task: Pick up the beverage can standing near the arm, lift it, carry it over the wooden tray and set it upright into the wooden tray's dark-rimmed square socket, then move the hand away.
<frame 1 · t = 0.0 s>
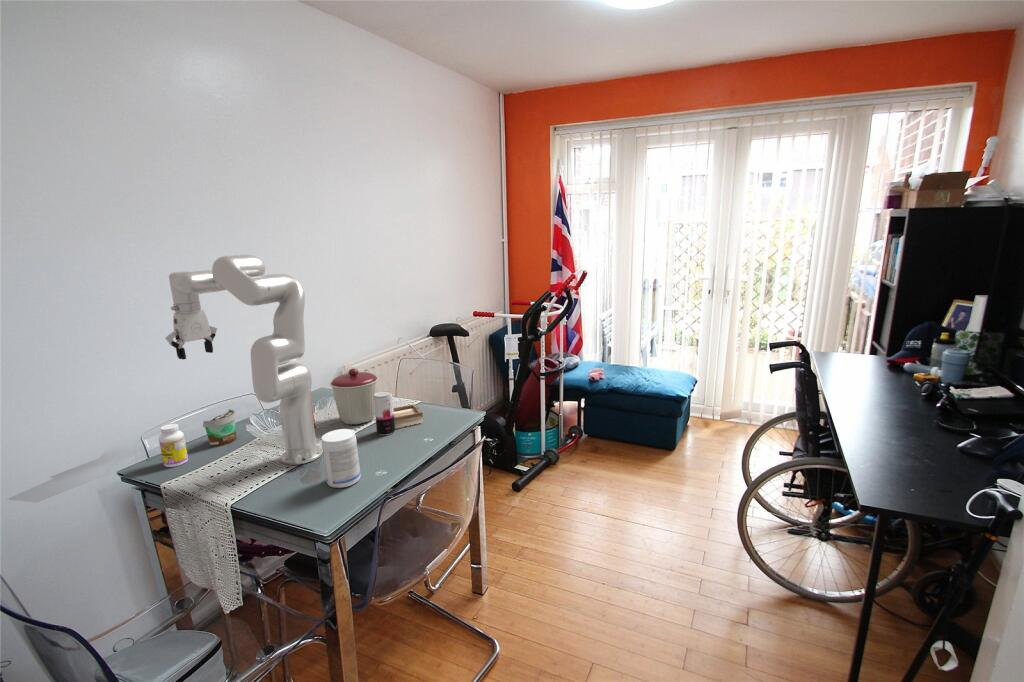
hand: (196, 355, 167), 31 cm above the table, tool pointing down, fingers open, 9 cm apart
supplement tub: (344, 481, 140), on the table
beverage can: (386, 432, 175), on the table
food container: (228, 442, 170), on the table
supplement bottle: (176, 463, 154), on the table
wooden tray: (405, 421, 185), on the table
canister: (358, 420, 187), on the table
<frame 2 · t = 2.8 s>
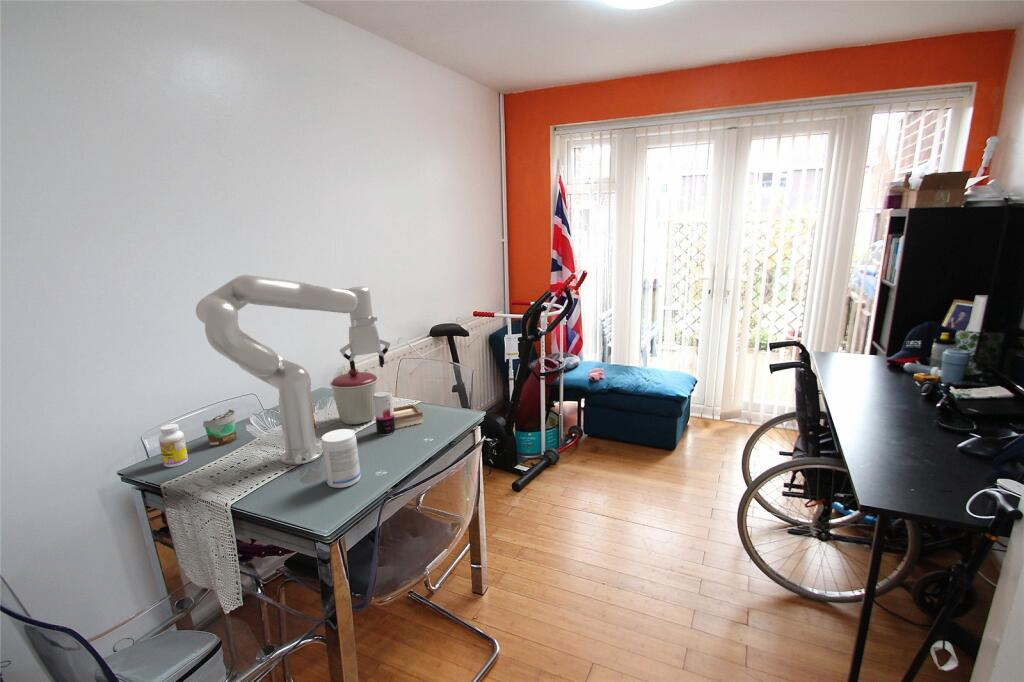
hand: (367, 368, 170), 24 cm above the table, tool pointing down, fingers open, 9 cm apart
nothing on the table moved.
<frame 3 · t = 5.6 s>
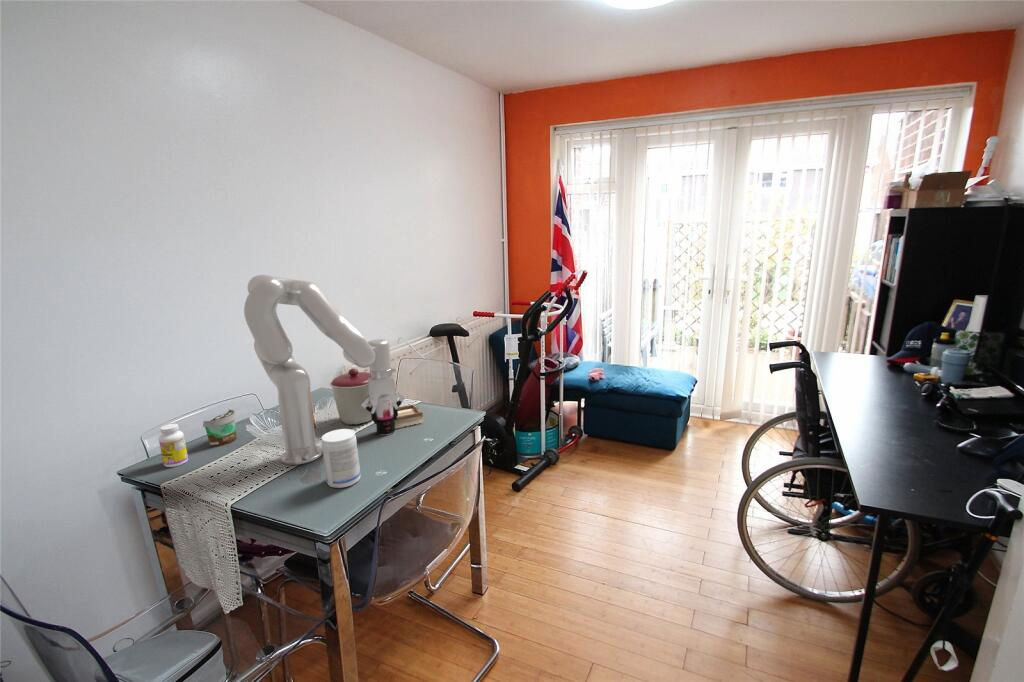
hand: (385, 420, 173), 5 cm above the table, tool pointing down, fingers closed on beverage can, 6 cm apart
beverage can: (386, 432, 175), on the table, touching gripper
everything else where it was.
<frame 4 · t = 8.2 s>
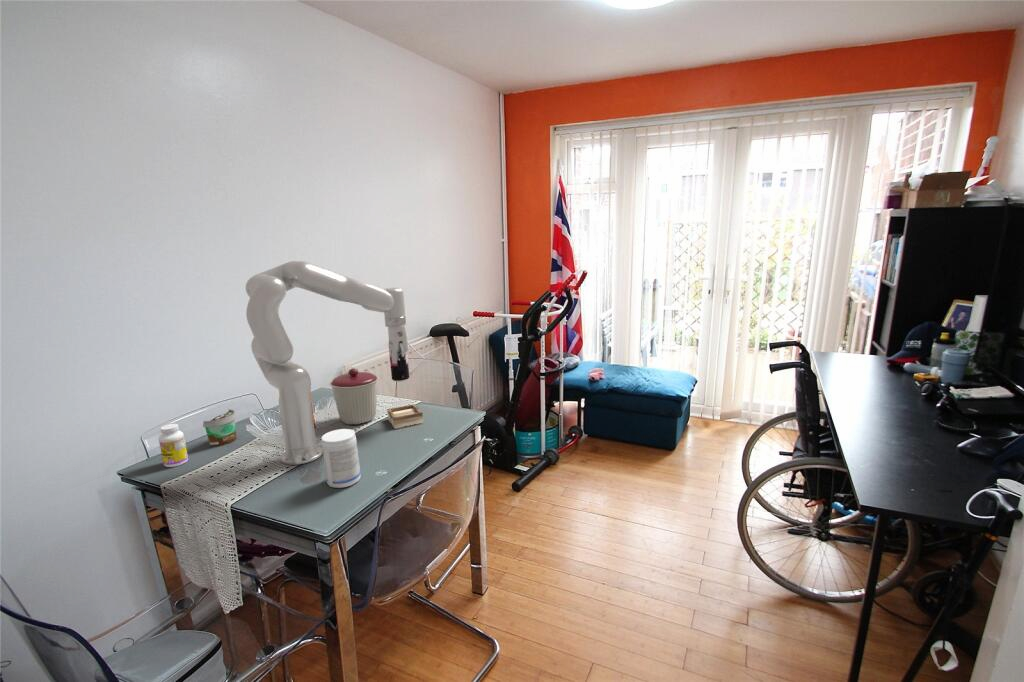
hand: (399, 367, 179), 22 cm above the table, tool pointing down, fingers closed on beverage can, 6 cm apart
beverage can: (400, 379, 180), point 17 cm above the table, touching gripper
everything else where it was.
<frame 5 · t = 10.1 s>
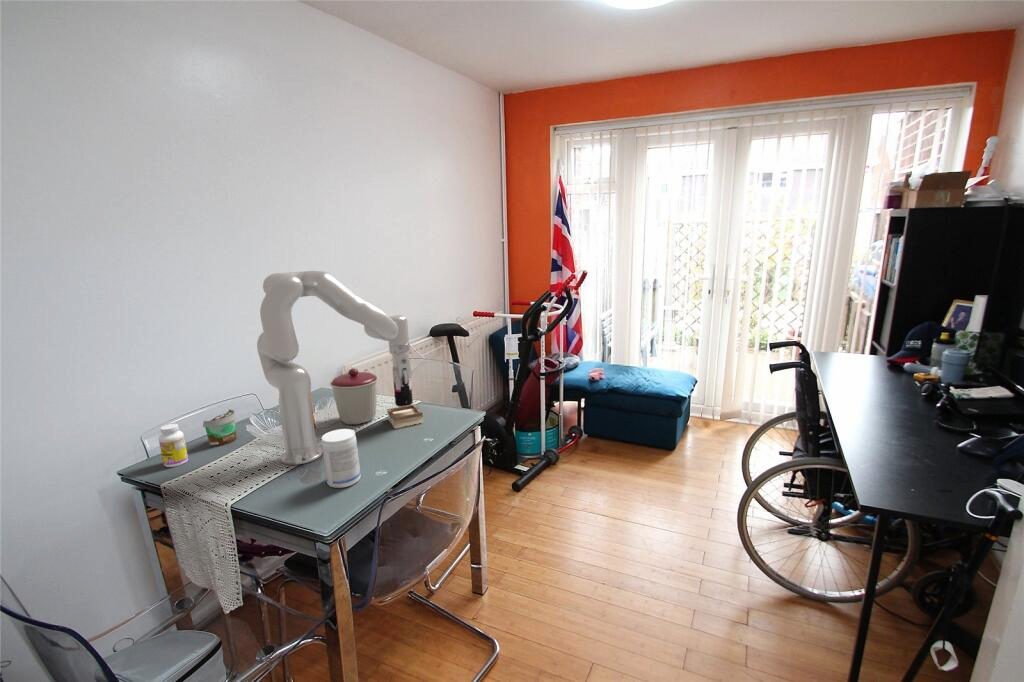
hand: (403, 392, 182), 12 cm above the table, tool pointing down, fingers closed on beverage can, 6 cm apart
beverage can: (404, 404, 183), point 7 cm above the table, touching gripper
everything else where it was.
when the fingers open (9 cm above the table, at t = 11.1 s): beverage can drops 2 cm, resting on wooden tray.
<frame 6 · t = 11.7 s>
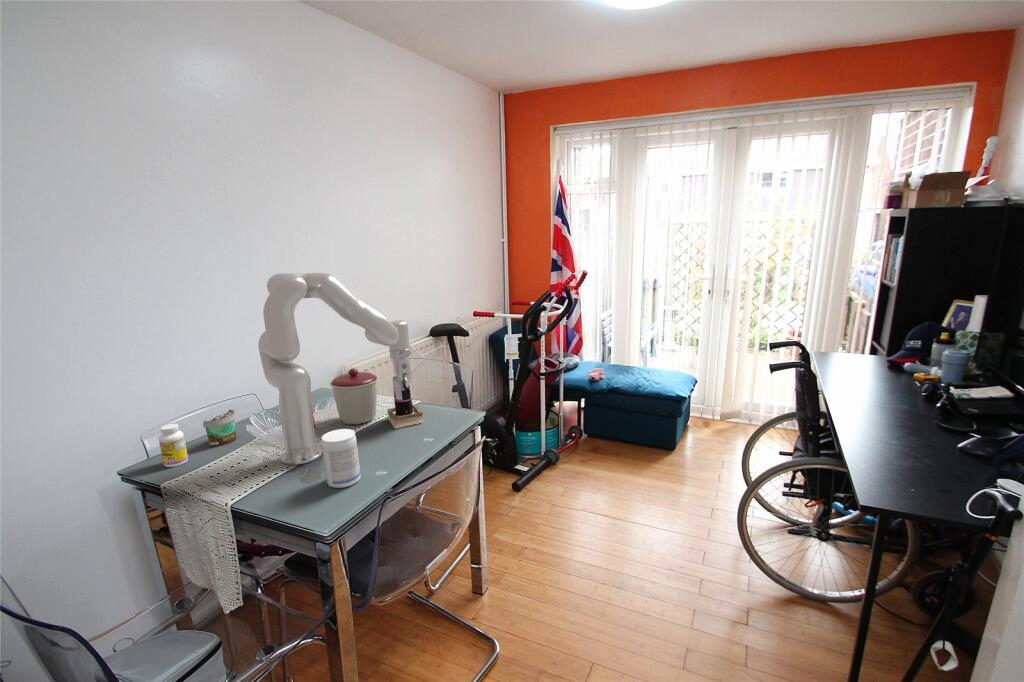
hand: (403, 396, 182), 10 cm above the table, tool pointing down, fingers open, 9 cm apart
beverage can: (404, 414, 184), point 3 cm above the table, touching wooden tray
everything else where it was.
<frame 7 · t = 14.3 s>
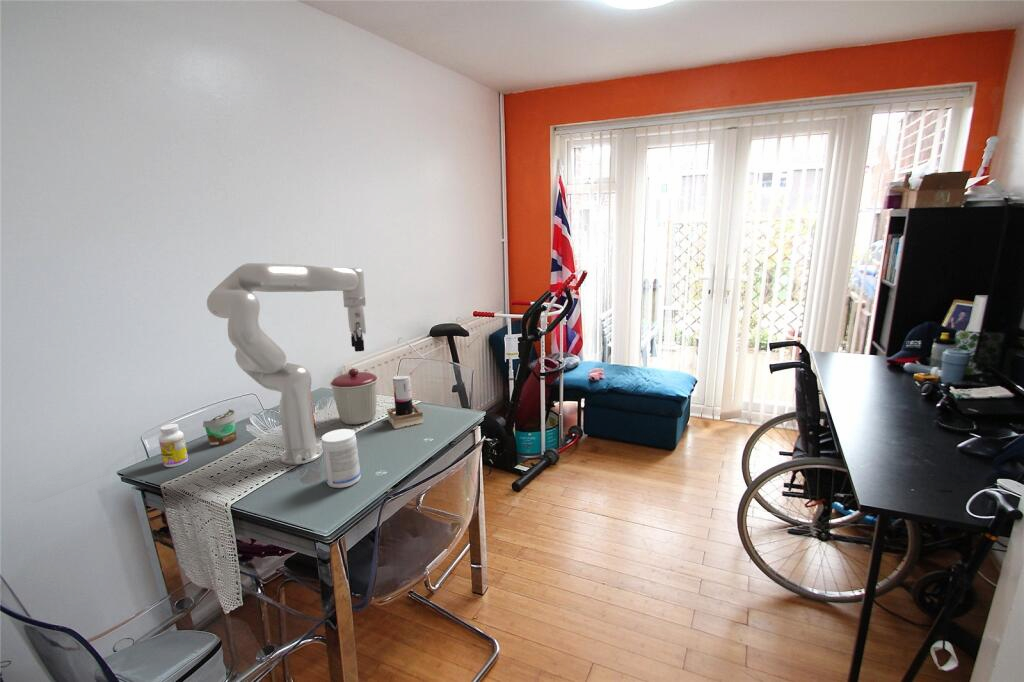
hand: (357, 348, 174), 30 cm above the table, tool pointing down, fingers open, 9 cm apart
nothing on the table moved.
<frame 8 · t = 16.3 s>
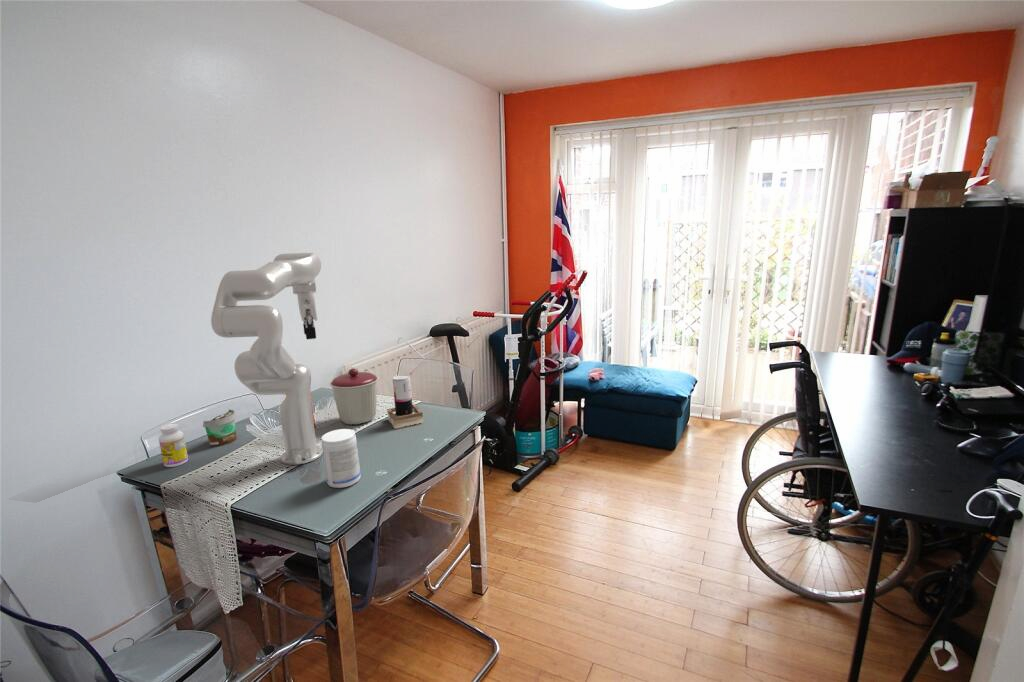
hand: (310, 336, 170), 36 cm above the table, tool pointing down, fingers open, 9 cm apart
nothing on the table moved.
at the end: beverage can 0.2 cm off-centre on the wooden tray, point 2.8 cm above the wooden tray's base; beverage can tilted 0°; the gripper is holding nothing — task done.
